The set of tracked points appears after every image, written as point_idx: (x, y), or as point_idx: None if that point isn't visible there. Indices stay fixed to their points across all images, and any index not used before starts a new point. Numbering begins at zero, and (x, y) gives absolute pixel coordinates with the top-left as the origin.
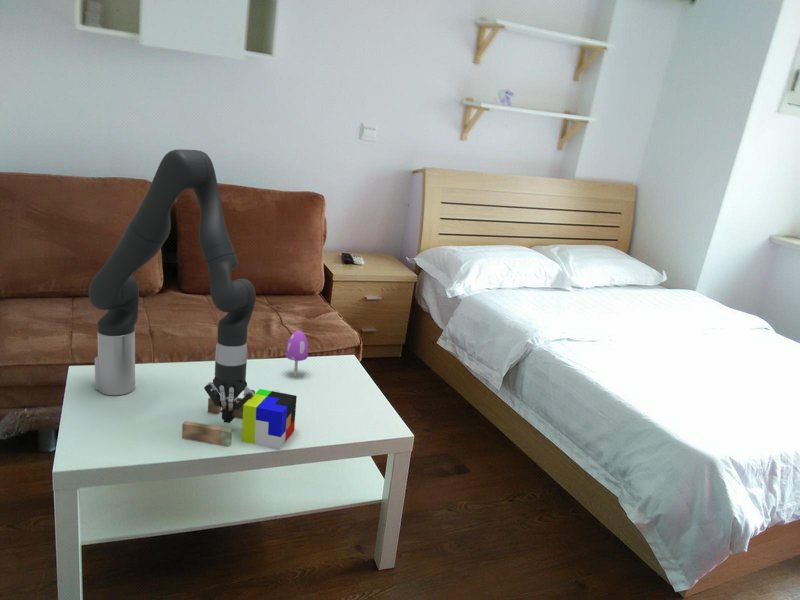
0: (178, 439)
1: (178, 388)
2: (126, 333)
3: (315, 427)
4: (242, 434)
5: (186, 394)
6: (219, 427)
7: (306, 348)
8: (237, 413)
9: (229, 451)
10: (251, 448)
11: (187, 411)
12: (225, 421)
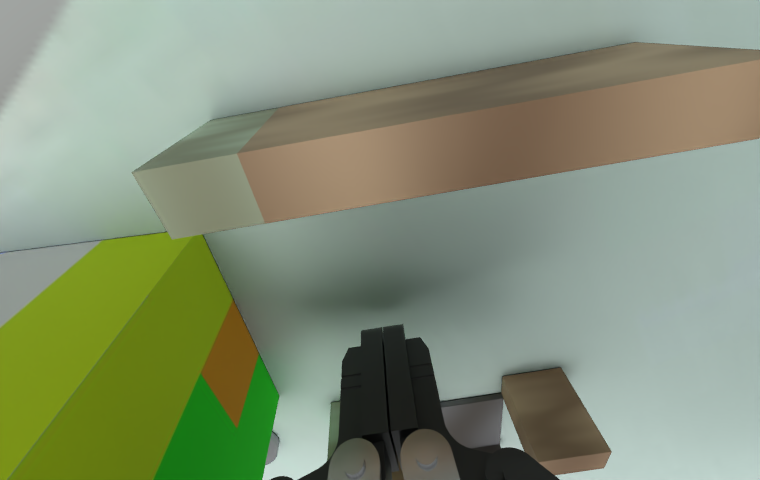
0: (664, 7)
1: (740, 433)
2: None
3: None
4: (167, 262)
5: (699, 420)
6: (313, 201)
7: None
8: None
9: (142, 47)
10: (58, 182)
11: (669, 335)
12: (389, 332)
